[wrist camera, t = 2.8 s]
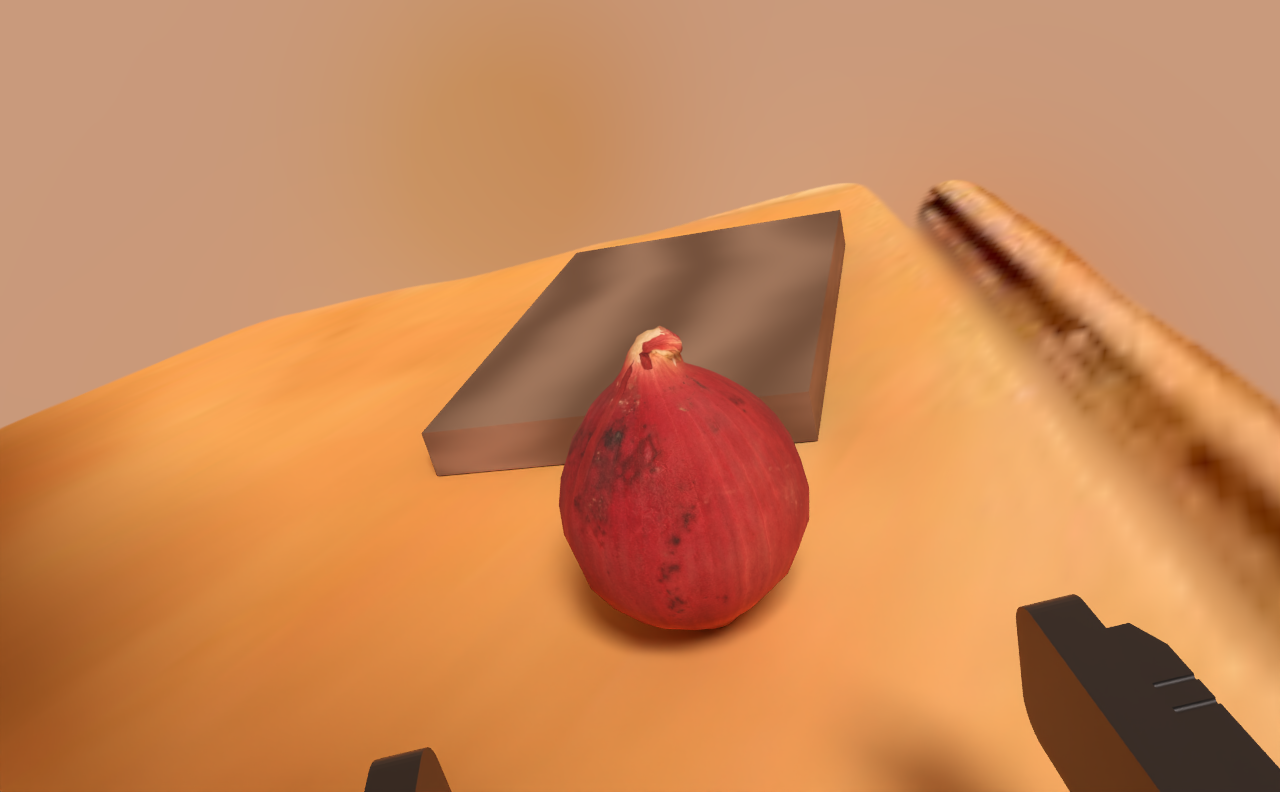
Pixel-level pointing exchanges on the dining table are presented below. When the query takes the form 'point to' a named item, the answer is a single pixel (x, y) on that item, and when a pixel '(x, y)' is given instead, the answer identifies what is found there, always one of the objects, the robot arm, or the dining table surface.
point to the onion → (681, 492)
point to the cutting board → (642, 300)
